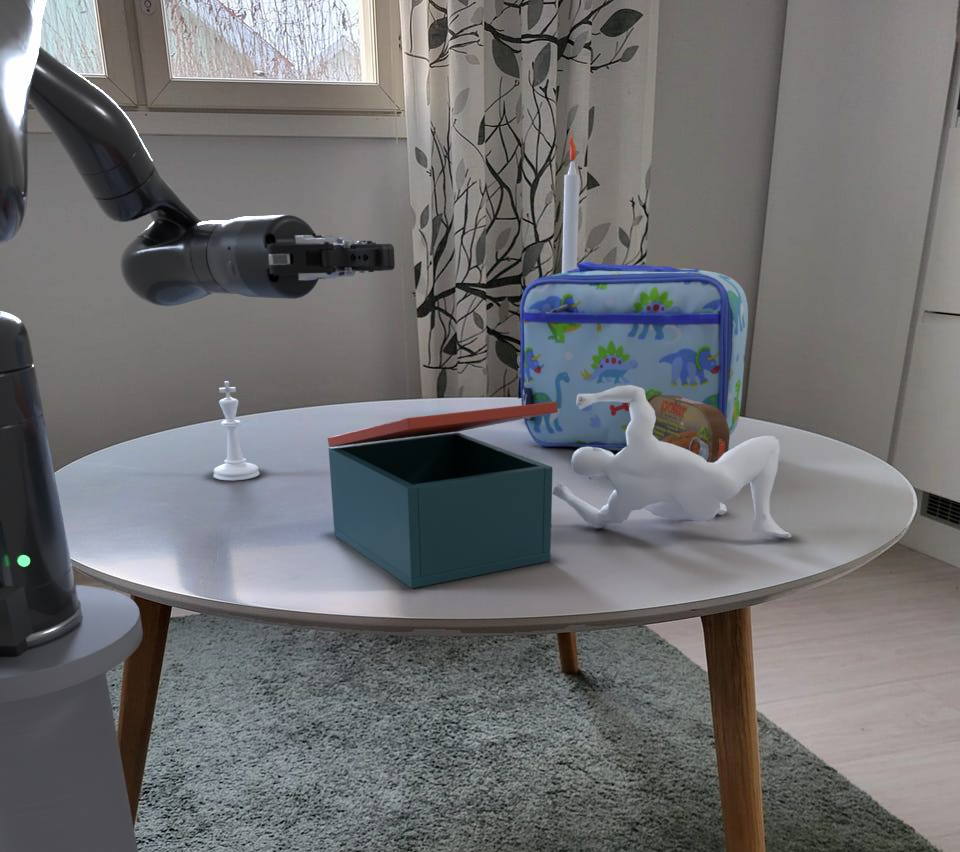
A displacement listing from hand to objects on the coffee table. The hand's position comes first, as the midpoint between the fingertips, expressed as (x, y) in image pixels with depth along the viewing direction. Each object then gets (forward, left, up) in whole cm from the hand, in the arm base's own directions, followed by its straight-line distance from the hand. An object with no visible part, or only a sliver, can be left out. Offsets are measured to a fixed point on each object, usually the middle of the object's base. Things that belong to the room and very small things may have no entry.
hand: (388, 257), depth 85 cm
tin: (+12, -28, -23) cm, 38 cm away
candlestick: (+42, -16, -23) cm, 50 cm away
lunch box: (+27, -23, -23) cm, 42 cm away
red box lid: (-13, -6, -13) cm, 19 cm away
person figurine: (-7, -25, -23) cm, 35 cm away
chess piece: (+11, +20, -23) cm, 32 cm away
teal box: (-13, -5, -23) cm, 27 cm away
